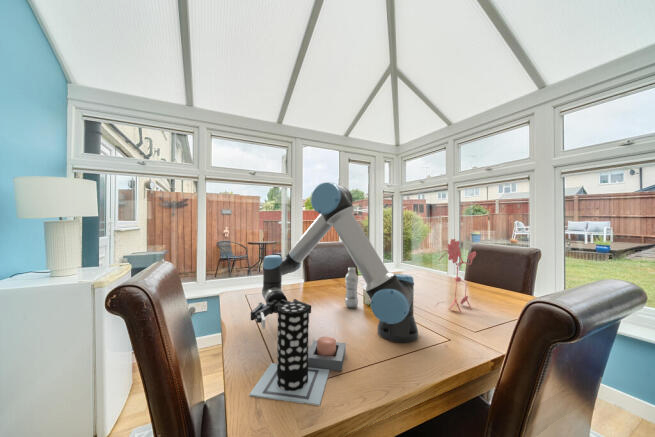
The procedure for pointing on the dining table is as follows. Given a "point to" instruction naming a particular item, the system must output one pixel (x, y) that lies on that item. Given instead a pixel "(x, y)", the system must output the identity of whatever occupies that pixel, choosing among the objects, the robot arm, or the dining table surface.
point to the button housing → (326, 357)
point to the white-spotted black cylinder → (292, 346)
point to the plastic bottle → (351, 288)
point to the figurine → (453, 255)
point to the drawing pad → (307, 394)
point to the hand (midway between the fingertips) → (286, 321)
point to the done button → (326, 346)
